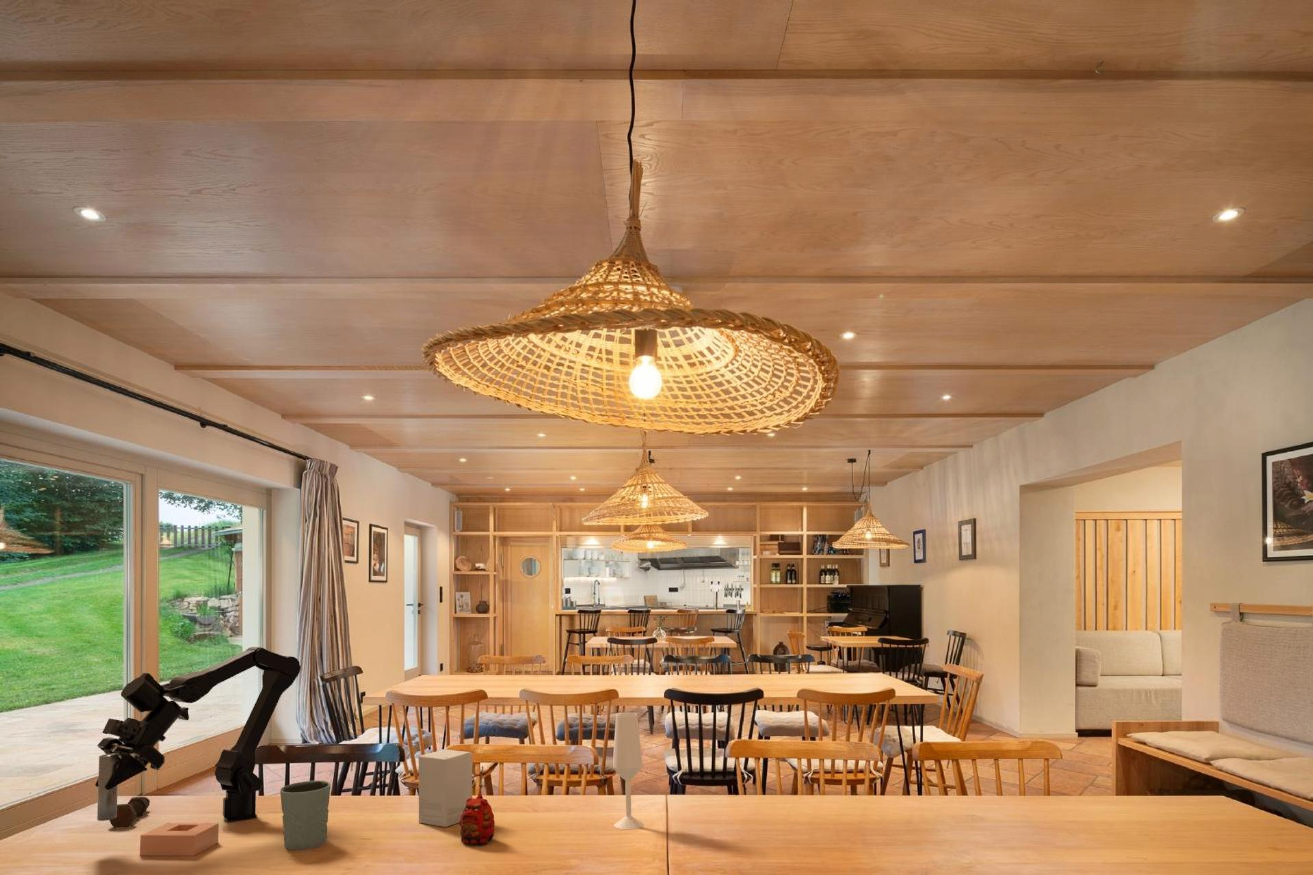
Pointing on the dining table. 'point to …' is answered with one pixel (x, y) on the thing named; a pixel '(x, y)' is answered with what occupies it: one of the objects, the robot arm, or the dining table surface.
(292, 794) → the green cup
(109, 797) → the peg
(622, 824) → the champagne flute
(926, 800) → the dining table surface
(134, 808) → the bolt
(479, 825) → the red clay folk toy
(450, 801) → the supplement box
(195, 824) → the socket block
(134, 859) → the dining table surface
